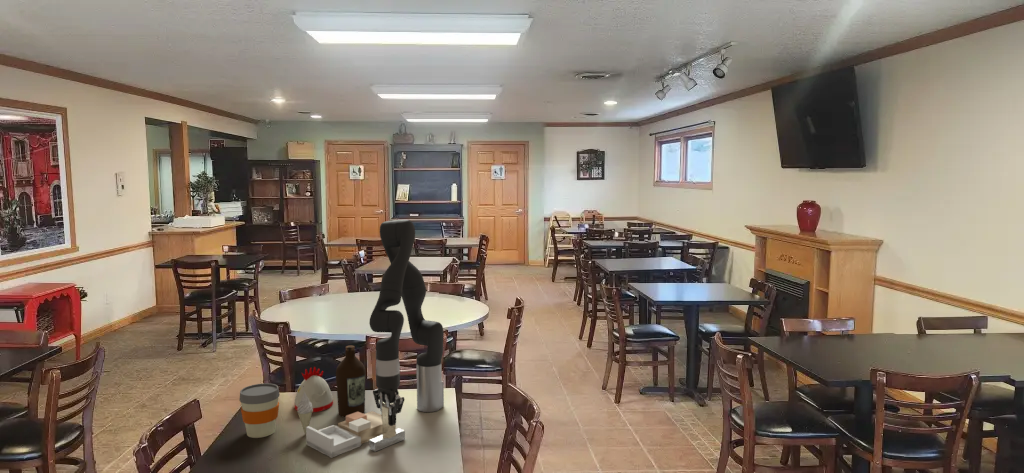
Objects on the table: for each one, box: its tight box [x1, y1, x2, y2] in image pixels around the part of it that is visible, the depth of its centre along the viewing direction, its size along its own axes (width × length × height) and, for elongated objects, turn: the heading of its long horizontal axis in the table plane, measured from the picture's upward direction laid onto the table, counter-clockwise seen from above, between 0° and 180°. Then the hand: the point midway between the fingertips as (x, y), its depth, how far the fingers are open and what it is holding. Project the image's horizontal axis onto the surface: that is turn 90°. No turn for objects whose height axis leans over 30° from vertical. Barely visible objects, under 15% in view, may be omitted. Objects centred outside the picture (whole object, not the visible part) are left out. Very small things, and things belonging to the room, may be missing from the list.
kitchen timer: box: [294, 366, 334, 413], centre depth 230 cm, size 14×14×15 cm
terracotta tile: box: [345, 412, 367, 423], centre depth 206 cm, size 5×5×2 cm
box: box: [305, 424, 362, 459], centre depth 197 cm, size 11×14×6 cm
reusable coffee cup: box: [239, 382, 281, 439], centre depth 206 cm, size 13×13×15 cm
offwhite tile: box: [349, 418, 371, 432], centre depth 201 cm, size 5×5×2 cm
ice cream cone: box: [296, 392, 313, 435], centre depth 205 cm, size 5×5×15 cm
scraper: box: [368, 405, 406, 452], centre depth 197 cm, size 4×12×13 cm, turn 140°
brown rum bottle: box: [335, 345, 367, 418], centre depth 223 cm, size 11×11×25 cm
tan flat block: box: [337, 410, 383, 445], centre depth 206 cm, size 14×12×4 cm
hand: (388, 423), depth 196 cm, fingers closed on scraper, 3 cm apart
